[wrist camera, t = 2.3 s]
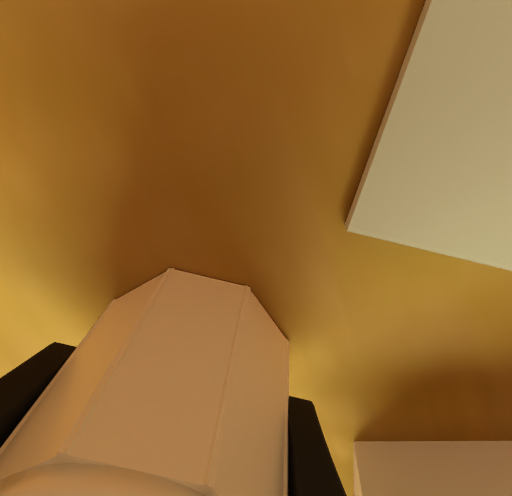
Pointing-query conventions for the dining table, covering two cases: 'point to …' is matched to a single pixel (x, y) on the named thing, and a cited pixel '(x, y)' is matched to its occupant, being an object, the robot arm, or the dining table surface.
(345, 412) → the dining table surface
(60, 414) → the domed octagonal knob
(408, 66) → the sage mat
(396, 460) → the cream block
